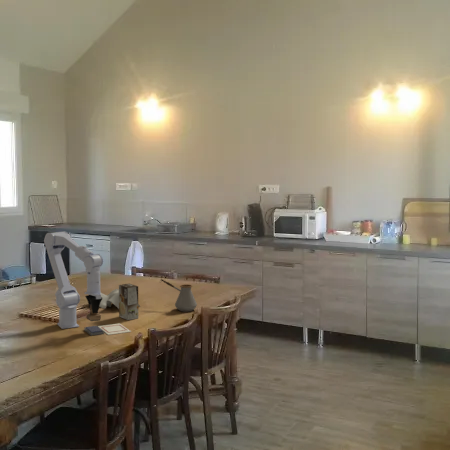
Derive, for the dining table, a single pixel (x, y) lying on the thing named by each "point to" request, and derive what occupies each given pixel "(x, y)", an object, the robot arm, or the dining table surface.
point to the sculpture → (110, 299)
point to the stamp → (93, 315)
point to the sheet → (114, 329)
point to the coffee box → (128, 301)
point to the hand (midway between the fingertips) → (93, 312)
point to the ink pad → (94, 330)
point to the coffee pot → (184, 298)
